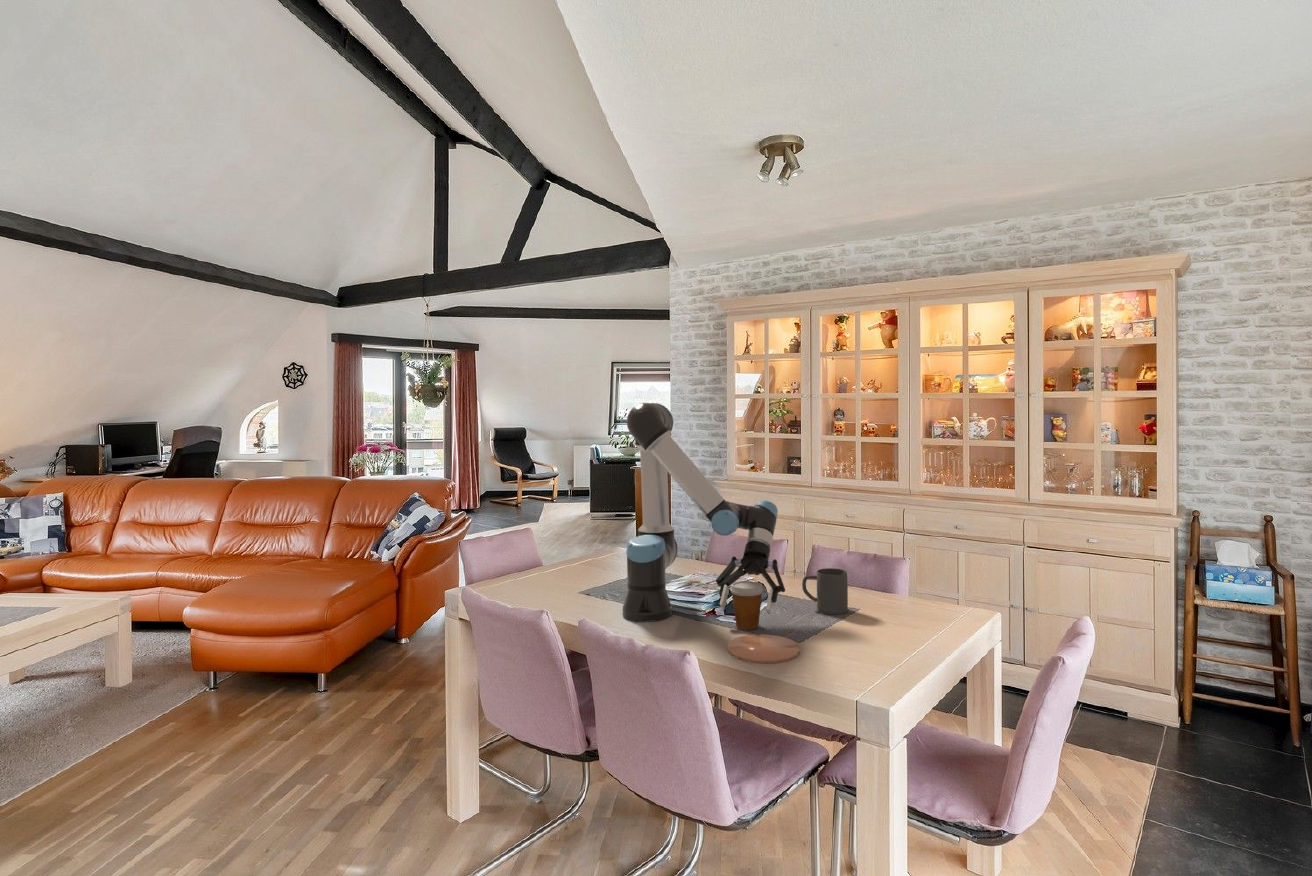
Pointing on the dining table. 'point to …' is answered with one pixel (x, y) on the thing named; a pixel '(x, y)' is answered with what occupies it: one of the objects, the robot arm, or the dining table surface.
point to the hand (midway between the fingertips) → (744, 609)
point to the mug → (830, 590)
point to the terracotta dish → (763, 648)
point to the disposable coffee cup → (747, 603)
